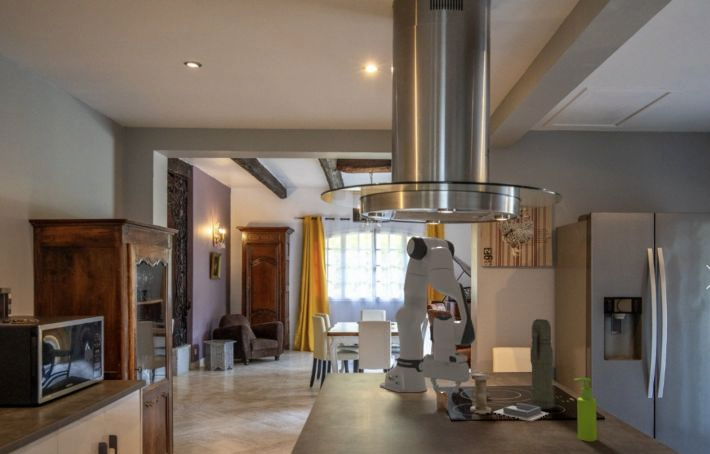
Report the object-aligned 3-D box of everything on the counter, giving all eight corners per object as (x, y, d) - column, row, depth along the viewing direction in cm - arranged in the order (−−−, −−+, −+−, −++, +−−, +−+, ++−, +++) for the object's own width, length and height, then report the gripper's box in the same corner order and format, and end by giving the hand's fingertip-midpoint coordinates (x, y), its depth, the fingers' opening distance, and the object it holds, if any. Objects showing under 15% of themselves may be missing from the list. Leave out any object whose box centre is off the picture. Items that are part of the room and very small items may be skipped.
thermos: (526, 407, 238) (525, 320, 240) (536, 401, 248) (535, 318, 249) (548, 411, 233) (547, 321, 235) (557, 405, 242) (556, 319, 244)
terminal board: (493, 413, 229) (493, 406, 229) (511, 407, 239) (511, 400, 239) (531, 421, 218) (531, 414, 218) (549, 414, 227) (548, 407, 228)
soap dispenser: (571, 436, 200) (571, 376, 201) (591, 435, 200) (590, 376, 201) (579, 441, 194) (578, 380, 195) (600, 441, 194) (598, 380, 195)
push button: (491, 395, 258) (491, 372, 259) (487, 398, 254) (487, 374, 254) (477, 393, 262) (477, 371, 262) (472, 396, 257) (472, 373, 258)
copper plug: (434, 410, 234) (434, 392, 234) (441, 408, 237) (440, 390, 237) (443, 412, 231) (443, 393, 231) (450, 410, 234) (450, 392, 234)
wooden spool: (466, 411, 232) (466, 375, 232) (477, 407, 237) (477, 372, 238) (484, 415, 226) (483, 378, 227) (495, 411, 232) (494, 375, 232)
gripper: (419, 354, 239) (420, 389, 239) (462, 359, 226) (463, 395, 225) (428, 352, 244) (429, 386, 243) (470, 356, 230) (472, 392, 229)
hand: (445, 391), depth 234 cm, fingers open, 8 cm apart
